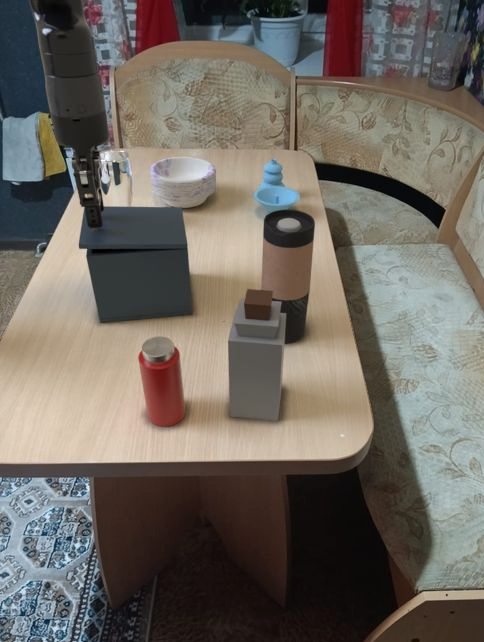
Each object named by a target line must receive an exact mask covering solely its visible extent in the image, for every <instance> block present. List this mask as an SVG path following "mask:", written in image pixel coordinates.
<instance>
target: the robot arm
mask: <svg viewBox="0 0 484 642" xmlns="http://www.w3.org/2000/svg"><path fill="white" fill-rule="evenodd" d="M28 3H29V6H30V7H29V8H30V11H31V12H32V16H33V20H34V23H35V28H36V34H37V41H38V48H39V52H40V58H41V62H42V68H43V73H44V81H45V92H46V93H45V94H46V97H47V98H46V99H47V103H48V108H49V114H50V117H51V118H50V119H51V123H52V128H53V132H54V133H53V134H54V137H55V141H56V143H57V144H58V145H60V146H61V147H64V148H70V149H72V156H71V157H70V161H71V162H70V163H71V168H72V170H73V173H72V175H73V177H74V181H75V186H76V190H77V195H78V199H79V205H80V207H81V208H84V207H85V213H86V218H87V224H88V227H90V228H100V227H102V224H103V222H102V216H101V212H102V211H103V210H104V206H105V204H104V199H103V191H102V186H101V185H102V182H101V177H102V168H101V154H100V153H101V150H100V149H98V147H100V146H102V145H104V144H106V143H107V142H108V141H109V140H110V133H109V126H108V117H107V111H106V110H107V109H106V104H105V96H104V91H103V85H102V82H101V78H100V73H99V67H98V59H97V53H96V47H95V40H94V36H93V32H92V30H91V27H90V26H89V24H88V22H87V20H86V16H85V11H84V5H83V0H28ZM98 192H99V193H100V195H101V202H100V199H99V193H98ZM88 194H92V195H93V197H88ZM86 195H87V196H86Z"/></svg>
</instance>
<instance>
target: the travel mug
mask: <svg viewBox="0 0 484 642" xmlns="http://www.w3.org/2000/svg"><path fill="white" fill-rule="evenodd" d="M315 228H316V222H315V218H314V217H313V216H312V215H311V214H309V213H307V212H304V211H301V210H297V209H287V210H278V211H274V212H271V213H269V212H268V213H267V214H266V215H265V216H264V218H263V230H262V231H263V232H262V256H261V257H262V259H261V283H260V285H261V286H260V290H267V291H273V296H272V301H279V302H281V310H280V313H286V327H285V343H284V344H292V343H294V342H297V341H299V340H300V339H301V338H302V337H304V334H305V329H306V322H307V321H306V320H307V313H308V305H309V297H310V289H311V279H312V268H313V267H312V265H313V253H314V242H315Z"/></svg>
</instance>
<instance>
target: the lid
mask: <svg viewBox="0 0 484 642" xmlns="http://www.w3.org/2000/svg"><path fill="white" fill-rule="evenodd" d="M98 193H99V192H98ZM87 197H93V195H92V194H88V196H87ZM99 199H100V202H101V195H100V193H99ZM101 216H102V222H103V224H102V227H100V228H90V227H88V224H87V218H86V213H85V207H83V214H82V219H81V226H80V231H79V240H78V249H79V250H87V249H187V248H188V249H189V247H188V246H189V245H188V239H187V238H188V237H187V232H186V231H187V230H186V227H185V219H184V213H183V208H182V207H173V206H133V207H114V206H108V205H104V210H103V211H102V212H101Z"/></svg>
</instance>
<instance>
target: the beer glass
mask: <svg viewBox="0 0 484 642" xmlns="http://www.w3.org/2000/svg"><path fill="white" fill-rule="evenodd" d="M100 154H101V168H102V177H101V182H102V185H101V186H102V188H101V192H102V195H103V197H104V200H105V203H106V206H114V207H134V173H133V167H132V163H131V158H130V154H129V152H127V151H125V150H121V149H109V150H103V151H100Z"/></svg>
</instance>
